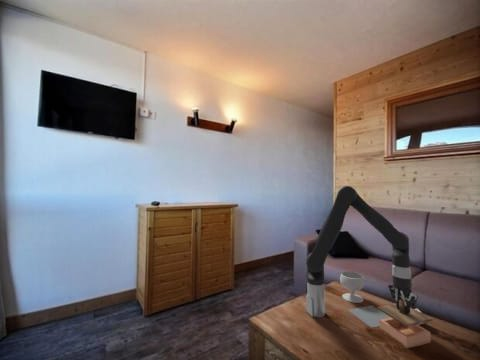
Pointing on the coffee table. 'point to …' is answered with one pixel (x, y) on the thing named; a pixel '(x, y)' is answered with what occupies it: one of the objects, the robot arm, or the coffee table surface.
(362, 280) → the chalice
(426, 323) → the game die
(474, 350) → the coffee table surface
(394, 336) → the pink square tray
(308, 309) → the robot arm
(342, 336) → the coffee table surface
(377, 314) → the mat
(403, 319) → the lid
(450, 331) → the coffee table surface
